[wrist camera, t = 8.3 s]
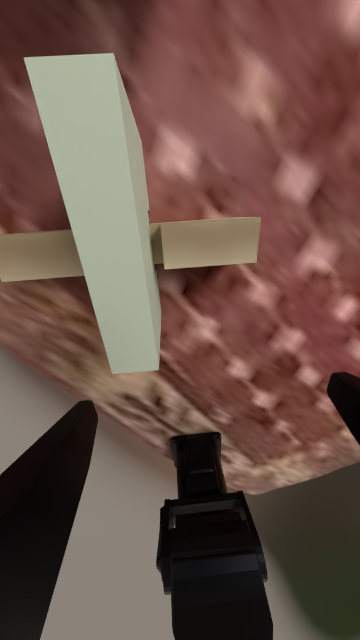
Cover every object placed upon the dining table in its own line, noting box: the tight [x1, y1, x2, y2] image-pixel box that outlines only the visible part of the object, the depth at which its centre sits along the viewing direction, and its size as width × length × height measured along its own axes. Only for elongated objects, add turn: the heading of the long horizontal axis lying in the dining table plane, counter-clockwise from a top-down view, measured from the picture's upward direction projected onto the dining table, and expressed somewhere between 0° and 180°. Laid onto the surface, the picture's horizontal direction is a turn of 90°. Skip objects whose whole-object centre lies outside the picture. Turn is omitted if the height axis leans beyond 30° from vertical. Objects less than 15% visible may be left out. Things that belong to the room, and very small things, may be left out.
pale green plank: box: [24, 53, 161, 374], centre depth 12 cm, size 12×3×8 cm, turn 4°
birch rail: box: [0, 217, 261, 282], centre depth 14 cm, size 3×16×4 cm, turn 94°
